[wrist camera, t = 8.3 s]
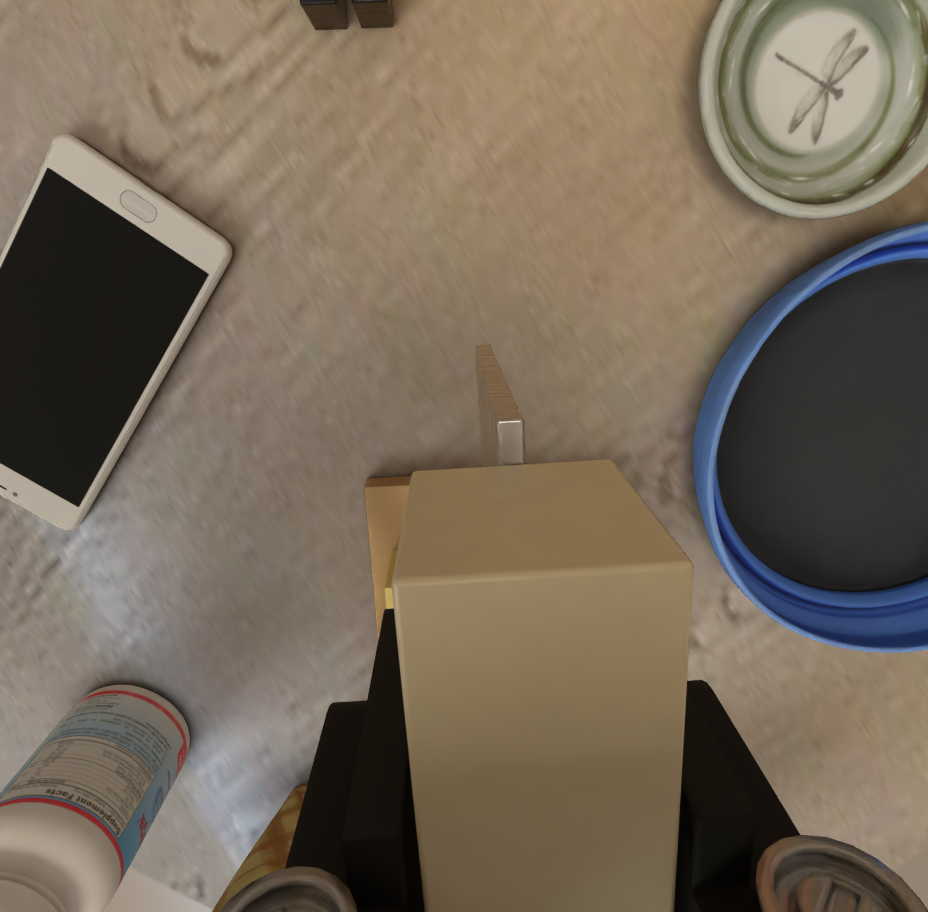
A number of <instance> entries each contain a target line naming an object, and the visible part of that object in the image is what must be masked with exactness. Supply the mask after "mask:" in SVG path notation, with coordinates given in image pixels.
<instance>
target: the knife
mask: <svg viewBox="0 0 928 912" xmlns="http://www.w3.org/2000/svg"><path fill="white" fill-rule="evenodd" d="M476 364H477V384H478V404H479V423H480V443H481V463H482V467H475V468H458V469H442V470H425V471H415V472H413V473H412V475H411V480H410V485H409V491H408V496H407V502H406V507H405V513H404V518H403V524H402V529H401V535H400V540H399V546H398V551H397V557H396V562H395V568H394V573H393V579H392V584H391V585H392V595H393V605H394V614H395V624H396V634H397V644H398V654H399V664H400V673H401V683H402V693H403V703H404V713H405V723H406V732H407V742H408V752H409V762H410V772H411V782H412V791H413V801H414V811H415V821H416V831H417V841H418V850H419V860H420V870H421V880H422V890H423V900H424V909H425V912H674V901H675V884H676V866H677V849H678V831H679V813H680V796H681V778H682V761H683V743H684V725H685V708H686V690H687V672H688V655H689V637H690V620H691V602H692V584H693V567H694V566H693V564H692V561H691V560H690V559H689V557H688V556H687V555H686V554H685V552H684V551H683V550H682V549H681V547H680V546H679V545H678V544H677V542H676V541H675V540H674V538H673V537H672V536H671V535H670V533H669V532H668V531H667V530H666V528H665V527H664V526H663V525H662V523H661V522H660V521H659V519H658V518H657V517H656V516H655V514H654V513H653V512H652V511H651V509H650V508H649V507H648V506H647V504H646V503H645V502H644V500H643V499H642V498H641V497H640V495H639V494H638V493H637V492H636V490H635V489H634V488H633V487H632V485H631V484H630V483H629V481H628V480H627V479H626V478H625V476H624V475H623V474H622V473H621V471H620V470H619V469H618V468H617V466H616V465H615V464H614V463H613V461H611V460H592V461H575V462H558V463H542V464H525V442H524V420H523V418H522V415H521V413H520V411H519V409H518V406H517V404H516V402H515V400H514V397H513V395H512V393H511V391H510V388H509V386H508V384H507V382H506V379H505V377H504V375H503V373H502V370H501V368H500V366H499V364H498V361H497V359H496V357H495V355H494V352H493V350H492V348H491V346H490V345H477V346H476Z"/></svg>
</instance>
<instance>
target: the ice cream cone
mask: <svg viewBox="0 0 928 912" xmlns="http://www.w3.org/2000/svg"><path fill="white" fill-rule="evenodd" d="M306 788H307V785H299V786H297V787H295V788H294V789H293V791H292V792H291V794H290V795H289V797H288V798H287V799H286V801H285V802H284V804H283V805H282V807H281V808H280V809H279V811H278V812H277V814H276V815H275V817H274V818H273V819H272V821H271V822H270V824H269V825H268V827H267V828H266V830H265V831H264V832H263V834H262V835H261V837H260V838H259V840H258V841H257V842H256V844H255V845H254V847H253V848H252V850H251V851H250V853H249V854H248V856H247V857H246V859H245V860H244V862H243V863H242V865H241V866H240V868H239V869H238V871H237V872H236V874H235V876H234V877H233V879H232V880H231V882H230V884H229V885H228V887H227V888H226V890H225V892H224V893H223V895H222V896H221V898H220V900H219V901H218V903H217V904H216V906H215V908H214V909H213V911H212V912H220V911H221V909H222V908H223V907H224V906H225V904H226V903H227V902H228V901H229V899H231V898H232V897H233V896H234V895H236V894H237V893H238V892H239V891H241V890H242V889H243V888H244V887H246V886H247V885H248V884H249V883H251V882H253V881H255V880H257V879H259V878H261V877H263V876H265V875H267V874H269V873H271V872H273V871H277V870H282V869H285V866H286V862H287V859H288V855H289V851H290V847H291V844H292V840H293V836H294V833H295V829H296V825H297V822H298V818H299V814H300V810H301V807H302V803H303V799H304V796H305V792H306Z"/></svg>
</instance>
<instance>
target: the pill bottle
mask: <svg viewBox="0 0 928 912" xmlns="http://www.w3.org/2000/svg"><path fill="white" fill-rule="evenodd" d="M189 745H190V736H189V730H188V727H187V724H186V722H185V720H184V718H183V716H182V715H181V714H180V713H179V711H178V710H177V709H176V708H175V707H174V706H173V705H172V704H171V703H170V702H168V701H167V700H165V699H164V698H162V697H161V696H159V695H157V694H156V693H153V692H151V691H149V690H147V689H144V688H140V687H137V686H132V685H111V686H106V687H103V688H100V689H97V690H95V691H92V692H91V693H89V694H87V695H86V696H84V697H83V698H82V699H80V700H79V701H78V702H77V703H76V704H75V705H74V706H73V708H72V709H71V710H70V711H69V712H68V713H67V715H66V716H65V717H64V718H63V719H62V720H61V721H60V723H59V724H58V725H57V726H56V727H55V729H54V730H53V731H52V732H51V733H50V734H49V736H48V737H47V738H46V739H45V740H44V742H43V743H42V744H41V745H40V746H39V748H38V749H37V750H36V751H35V752H34V754H33V755H32V756H31V757H30V758H29V759H28V761H27V762H26V763H25V764H24V766H23V767H22V768H21V769H20V770H19V772H18V773H17V774H16V775H15V776H14V777H13V779H12V780H11V781H10V782H9V783H8V785H7V786H6V787H5V788H4V790H3V791H2V792H1V793H0V912H102V911H103V910H104V909H105V908H106V907H107V905H108V903H109V902H110V900H111V899H112V897H113V895H114V894H115V892H116V890H117V888H118V887H119V885H120V883H121V881H122V879H123V877H124V875H125V873H126V871H127V869H128V868H129V866H130V864H131V862H132V860H133V858H134V856H135V855H136V853H137V851H138V849H139V847H140V845H141V843H142V841H143V840H144V838H145V836H146V834H147V832H148V830H149V828H150V826H151V825H152V823H153V821H154V819H155V817H156V815H157V813H158V811H159V809H160V808H161V806H162V804H163V802H164V800H165V798H166V796H167V794H168V792H169V791H170V789H171V787H172V785H173V783H174V781H175V779H176V777H177V775H178V773H179V772H180V770H181V768H182V766H183V764H184V762H185V760H186V757H187V755H188V751H189Z"/></svg>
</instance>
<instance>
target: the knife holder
mask: <svg viewBox="0 0 928 912" xmlns="http://www.w3.org/2000/svg"><path fill="white" fill-rule="evenodd" d="M351 1H352V4H353V6H354V9H355V12H356V14H357V17H358V19H359V22H360V25H361V27H362V28H377V27H393V26H394V21H393V5H392V0H351ZM300 4H301V6H302V8H303V9H304V11H305V13H306V14H307V16H308V18H309V19H310V21H311V23H312V24H313V26H314V28H315V29H316V30H326V29H347V27H348V26H347V14H346V2H345V0H300Z"/></svg>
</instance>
